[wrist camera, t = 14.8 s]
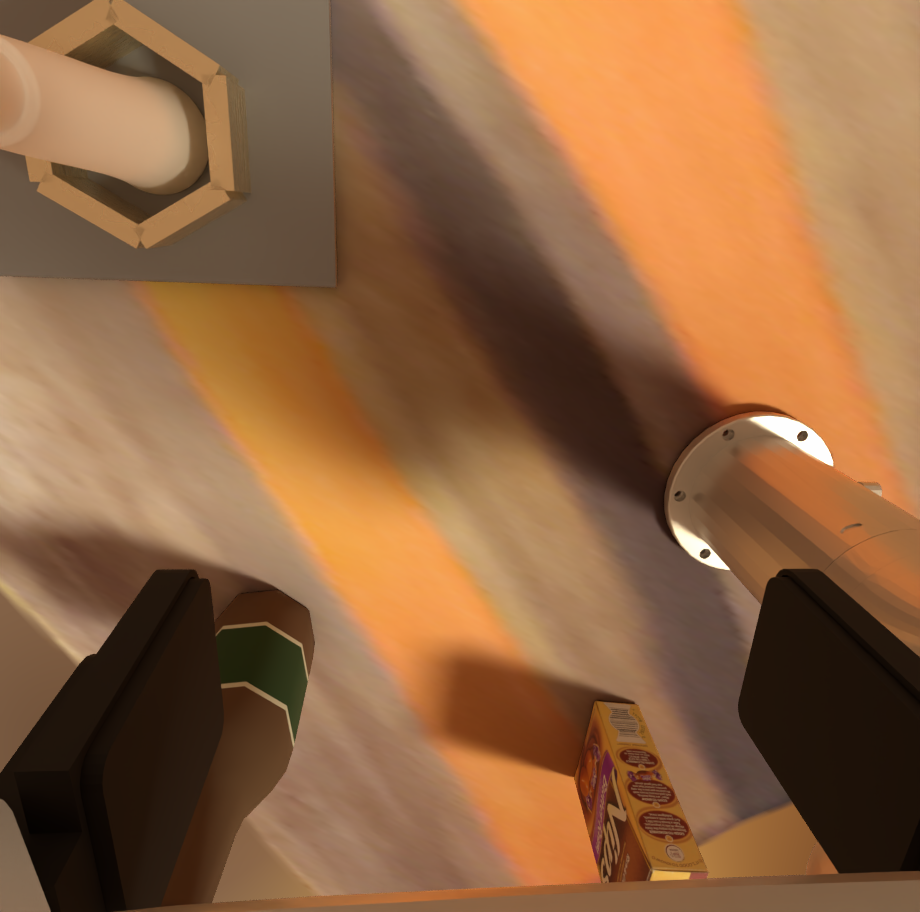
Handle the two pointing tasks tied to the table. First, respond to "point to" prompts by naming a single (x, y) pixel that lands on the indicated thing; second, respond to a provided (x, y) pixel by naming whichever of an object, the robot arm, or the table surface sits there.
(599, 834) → the candy box
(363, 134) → the table surface
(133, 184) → the cosmetic bottle
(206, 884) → the beer bottle
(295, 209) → the slate board
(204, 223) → the wooden hex collar
